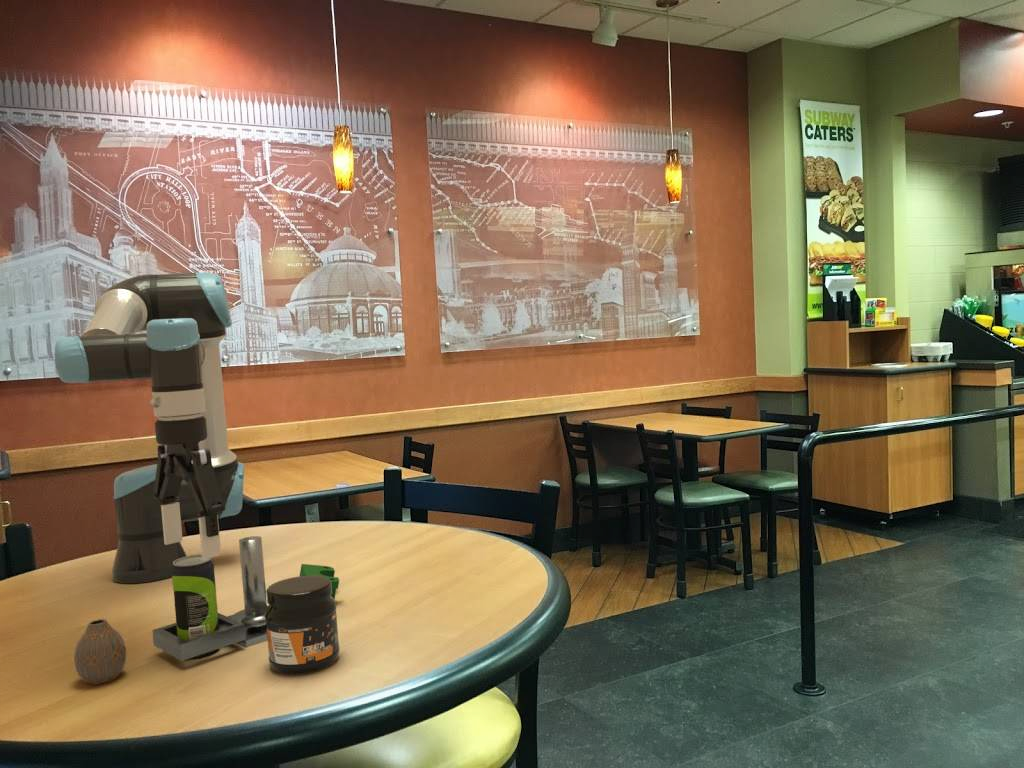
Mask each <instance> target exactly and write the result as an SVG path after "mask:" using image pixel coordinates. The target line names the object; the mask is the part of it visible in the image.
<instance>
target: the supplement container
mask: <svg viewBox="0 0 1024 768" xmlns="http://www.w3.org/2000/svg"><path fill="white" fill-rule="evenodd" d="M331 595H332V583H331V580H330V579H328V578H326V577H322V576H300V575H299V576H294V577H289V578H285V579H282V580H281V579H280V580H279V581H276V582H274V583H272V584H271V585H269V586H268V587H267V589H266V599H267V606H268V607H267V608H266V610H265V619H266V626H267V638H268V640H267V647H268V650H267V651H268V663H269V665H270V666H269V667H271V669H273V670H274V671H276V672H278V673H281V674H284V675H303V674H304V675H305V674H309V673H314V672H317V671H321V670H323V669H325V668H327V667H329V666H330V665H332V664H333V663H335V661H336V660H337V658H338V657H339V655H340V644H339V631H338V630H339V629H338V617H337V605H338V604H337V600H336V598H335V599H334V598H333V597H332V596H331Z"/></svg>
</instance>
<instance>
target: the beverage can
mask: <svg viewBox="0 0 1024 768" xmlns="http://www.w3.org/2000/svg"><path fill="white" fill-rule="evenodd" d="M173 565H174V567H173V568H172V577H171V578H172V589H173V590H172V591H173V598H174V599H173V601H174V611H175V623H176V625H177V636H178V637H179V638H181V639H183V640H188V639H191V638H194V637H197V636H200V635H204V634H207V633H210V632H213V631H216V630H219V621H218V613H219V611H218V600H217V587H216V577H215V575H216V574H215V565H214V561H213V560H212V557H210V558H206V559H203V558H202V554H192V555H187V556H186V557H182V558H179V559H177V560H175V561H174V562H173ZM217 650H218V649H216V650H213V651H210V652H207V653H204V654H201V655H198V656H195V657H192V658H191V659H196V658H202V657H207V656H209V655H211V654H214V653H215V652H216V651H217Z"/></svg>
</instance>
